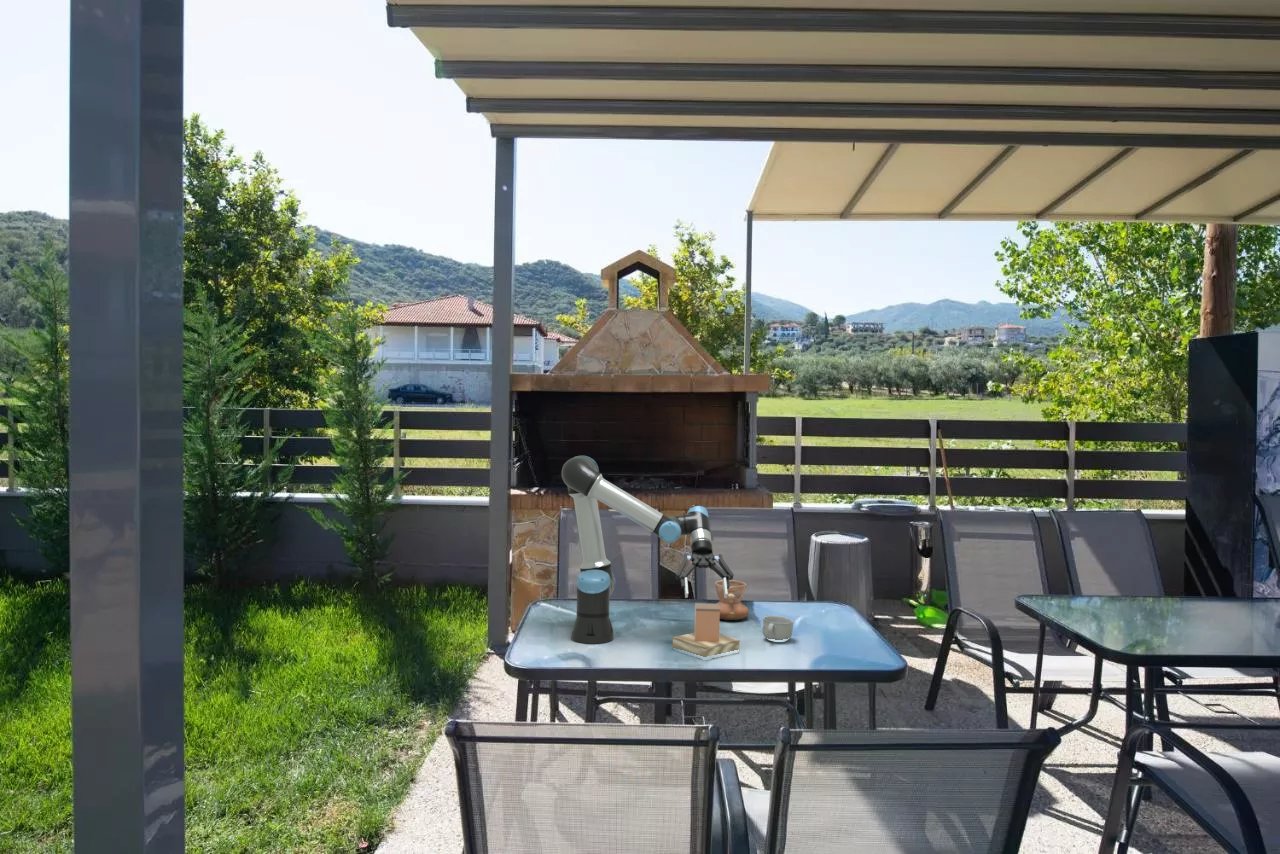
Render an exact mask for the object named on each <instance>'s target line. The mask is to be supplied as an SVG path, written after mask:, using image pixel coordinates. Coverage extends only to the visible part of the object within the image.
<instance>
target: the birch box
mask: <svg viewBox="0 0 1280 854" xmlns="http://www.w3.org/2000/svg"><path fill="white" fill-rule="evenodd" d="M673 648H676V649H680V650H684V651H687V652H690V653H693V654H696V655H700V656H703V657H707V656H712V655H717V654H721V653H726V652H730V651H734V650H738V649H739V650H740V639H738V638H734V637H731V636H727V635H724V634H721V633H719V642H708V641H695V637H694V632H691V633H687V634H682V635H681V634H680V635H676V636H673V637H672V649H673Z"/></svg>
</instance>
